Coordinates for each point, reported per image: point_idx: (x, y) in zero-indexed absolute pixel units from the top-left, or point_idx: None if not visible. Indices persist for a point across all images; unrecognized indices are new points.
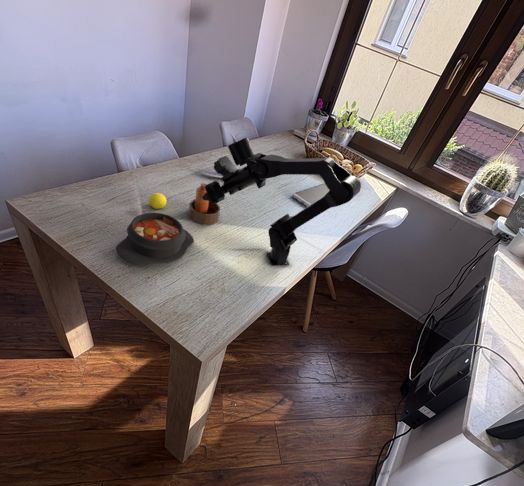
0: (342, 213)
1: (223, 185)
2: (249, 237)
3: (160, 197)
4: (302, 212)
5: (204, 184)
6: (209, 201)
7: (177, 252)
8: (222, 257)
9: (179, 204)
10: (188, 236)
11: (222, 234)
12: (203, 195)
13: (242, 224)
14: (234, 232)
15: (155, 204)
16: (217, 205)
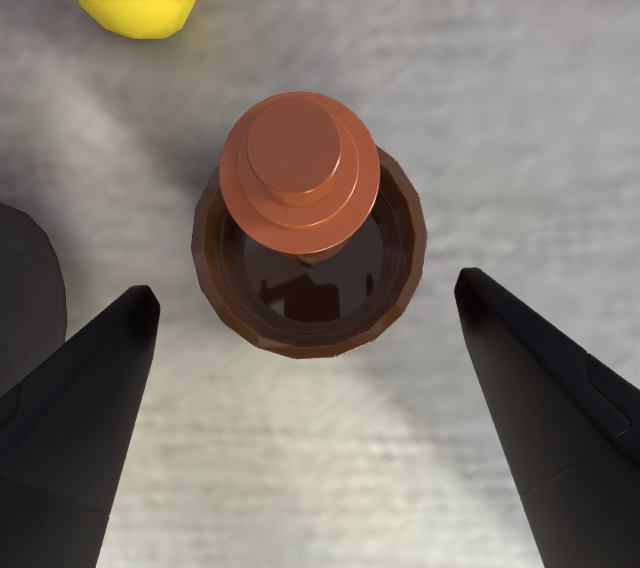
0: None
1: (513, 339)
2: (381, 548)
3: None
4: None
5: (311, 136)
6: (406, 205)
7: None
8: (109, 564)
9: (295, 64)
10: (25, 372)
11: (271, 432)
12: (92, 320)
13: (456, 441)
14: (346, 463)
15: (80, 2)
16: (405, 287)
